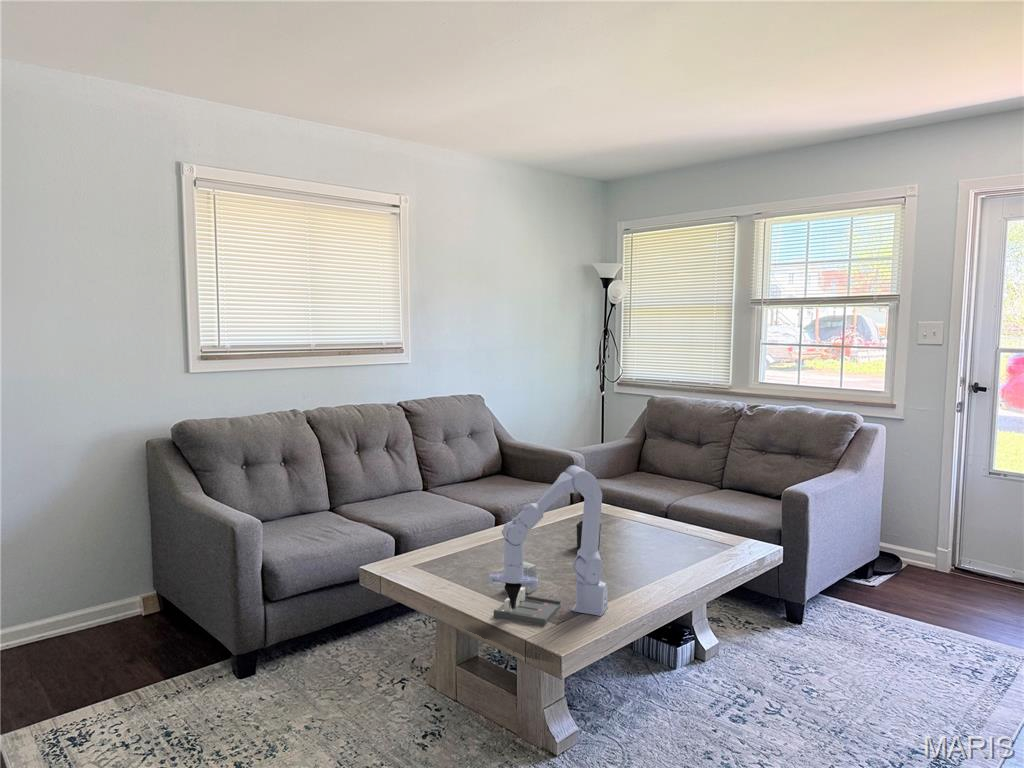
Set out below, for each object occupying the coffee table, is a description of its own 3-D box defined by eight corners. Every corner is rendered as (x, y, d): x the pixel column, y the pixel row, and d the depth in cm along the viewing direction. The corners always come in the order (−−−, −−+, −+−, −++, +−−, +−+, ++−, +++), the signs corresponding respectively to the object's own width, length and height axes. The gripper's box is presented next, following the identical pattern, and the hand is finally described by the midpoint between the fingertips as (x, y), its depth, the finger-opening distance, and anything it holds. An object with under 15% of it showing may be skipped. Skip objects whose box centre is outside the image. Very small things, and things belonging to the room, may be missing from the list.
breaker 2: (525, 598, 216) (525, 587, 216) (522, 601, 214) (522, 590, 213) (520, 597, 216) (520, 586, 216) (517, 600, 214) (517, 589, 214)
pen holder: (604, 550, 268) (605, 525, 267) (583, 553, 264) (583, 527, 264) (593, 543, 277) (593, 519, 276) (572, 546, 273) (572, 521, 272)
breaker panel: (560, 607, 213) (560, 600, 213) (544, 626, 199) (544, 619, 199) (512, 598, 219) (512, 592, 219) (493, 617, 205) (493, 610, 205)
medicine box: (536, 590, 226) (536, 564, 226) (527, 594, 223) (527, 568, 222) (518, 584, 232) (518, 559, 231) (509, 588, 228) (509, 562, 228)
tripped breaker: (512, 610, 207) (512, 598, 206) (509, 613, 205) (509, 601, 204) (507, 609, 207) (507, 598, 207) (504, 612, 205) (504, 600, 205)
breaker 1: (519, 604, 211) (519, 593, 211) (516, 607, 209) (516, 595, 209) (514, 603, 212) (514, 592, 212) (511, 606, 210) (511, 595, 209)
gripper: (540, 560, 206) (540, 604, 207) (493, 556, 210) (493, 599, 211) (535, 568, 199) (534, 614, 200) (487, 563, 203) (487, 608, 204)
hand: (513, 607), depth 205 cm, fingers closed
